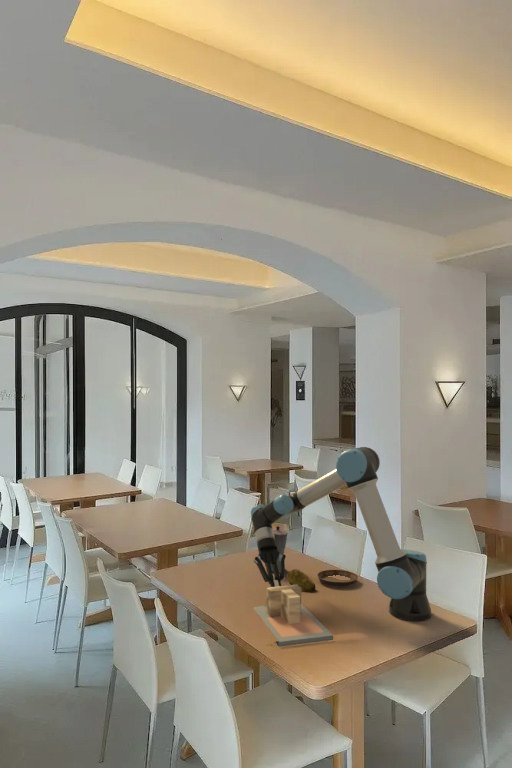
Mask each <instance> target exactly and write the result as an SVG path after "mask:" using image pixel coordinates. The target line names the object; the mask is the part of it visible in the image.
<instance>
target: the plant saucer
mask: <svg viewBox="0 0 512 768" xmlns="http://www.w3.org/2000/svg"><path fill="white" fill-rule="evenodd" d="M333 575H335V576H336V575H340V576H345V577H348V578H350V580H339V579H336V578H333V577H328V576H333ZM316 576H317V578H318V580H319V581H320V582H321V583H322V584H324V585H325V586H329V587H333V588H334V587H335V588H347V587H349V586H350V587H351V586H352V585H354V584H355V583H356V582H357V580H358V578H359V576H358V574H357V573H354V572H352V571H349V570H343V569H326V570H321V571H319V572H318V573H317V574H316Z"/></svg>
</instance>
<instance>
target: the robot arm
mask: <svg viewBox="0 0 512 768" xmlns="http://www.w3.org/2000/svg"><path fill="white" fill-rule="evenodd" d="M380 463H381V461H380V457H379V455H378V453H377V452H376V451H375V450H374V449H372V448H370V447H367V446H360V447H354V448H349V449H346V450H344V451H342V452H341V453H340V454H339V455H338V457H337V459H336V462H335V468H334V469H333V470H331V471H330V472H328V473H326V474H325V475H323V476H321V477H319V478H317V479H316V480H314V481H312V482H310V483H309V484H306V485H305V486H304V487H302V488H299V490H296V491H295V492H292V493H291V494H285V493H282V494H280V495H278V496H276V497H275V498H274V499H273V500H272V501H270V502H268V504H261V503H260V504H257V505H255V506H253V507H252V508H251V510H250V517H251V522H252V526H253V531H254V536H255V539H256V540H255V541H256V546H257V550H258V555H257V556H255V557H254V560H253V563H255V565H256V566H257V568H258V570H259V572H260V575H261V577H262V579H263V581H264V582H265V583H268V584H269V587H277V586H282V581H283V580H284V579H285V571H284V561H285V559H286V554H284V555H281V554H280V553H279V551H278V550H277V545H276V541H275V536H274V533H273V530H274V529H273V524H274V523H276V522H277V521H278V520H280V519H282V518H284V517H286V516H289V515H292V514H294V513H299V512H301V511H303V510H304V509H305V508H306V507H309V506H310V505H311V504H313V503H315V502H318V501H319V500H322V499H323V498H325V497H326V496H328V495H330V494H332V493H333V492H335V491H337V490H339V489H341V488H343V487H345V486H347V489H348V490H349V491H351V492H352V493H354V496H355V497H354V498H355V500H356V502H357V504H358V507H359V510H360V512H361V515H362V518H363V522H364V524H365V527H366V529H367V532H368V536H369V537H370V540H371V542H372V543H371V544H372V546H373V549H374V552H375V554H376V559H375V562H374V563H375V566H376V568H377V569H376V570H377V571H378V573H377V576H376V583H377V586H378V589H379V590H380V591H381V592H382V594H384V596H386V597H388V598H389V599H390V601H389V606H388V609H389V610H388V612H389V613H390V614H391V615H392V616H393V617H395V618H398V619H400V620H404V621H410V622H422V621H428V620H430V618H432V609H431V605H430V601H429V599H428V596H427V595H428V594H427V563H428V561H427V556H426V553H424V552H421V551H418V550H412V549H401V548H400V545H399V542H398V540H397V536H396V534H395V532H394V529H393V527H392V526H393V525H392V524H391V521H390V518H389V516H388V515H389V514H387V510H386V507H385V505H384V502H383V500H382V498H381V495H380V492H379V489H378V487H377V482H378V480H379V477H378V475H377V472H378V470H379V469H380V465H381V464H380ZM278 557H279V560H280V572H279V571H278V567H277V559H278ZM263 563H264V564H263ZM271 565H272V568H273V572H272V569H271ZM264 566H265V567H264Z"/></svg>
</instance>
